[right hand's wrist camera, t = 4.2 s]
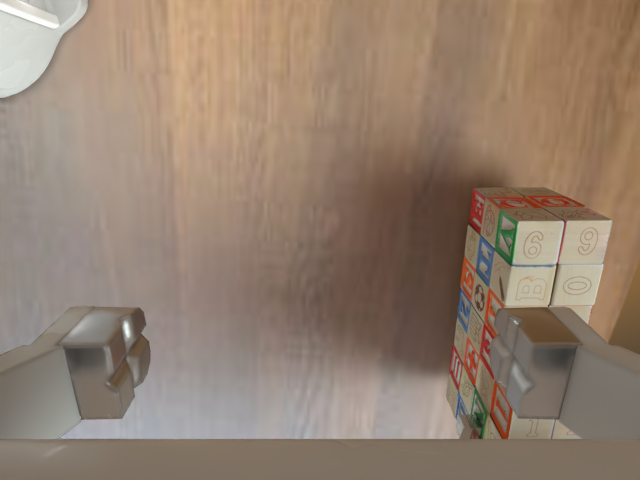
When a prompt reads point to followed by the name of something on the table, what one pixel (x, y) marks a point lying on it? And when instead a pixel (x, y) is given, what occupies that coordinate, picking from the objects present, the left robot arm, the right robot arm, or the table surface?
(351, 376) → the table surface
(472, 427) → the left robot arm
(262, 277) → the table surface
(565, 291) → the stack of blocks
